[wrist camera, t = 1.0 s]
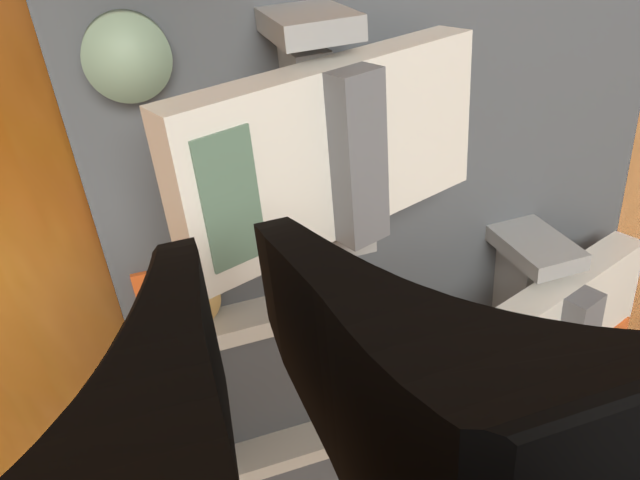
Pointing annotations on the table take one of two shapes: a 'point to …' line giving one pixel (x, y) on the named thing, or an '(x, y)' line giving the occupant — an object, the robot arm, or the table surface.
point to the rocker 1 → (313, 147)
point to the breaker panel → (405, 225)
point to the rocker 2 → (588, 288)
